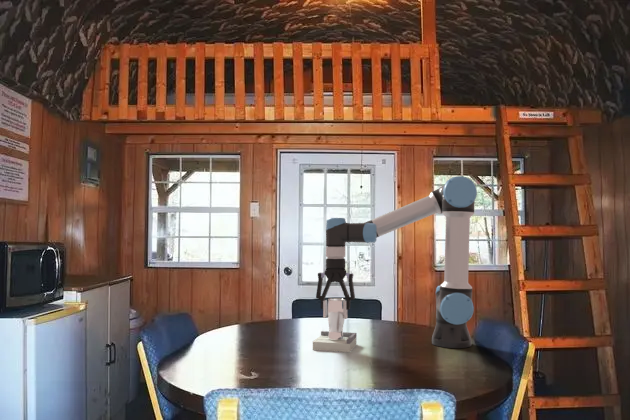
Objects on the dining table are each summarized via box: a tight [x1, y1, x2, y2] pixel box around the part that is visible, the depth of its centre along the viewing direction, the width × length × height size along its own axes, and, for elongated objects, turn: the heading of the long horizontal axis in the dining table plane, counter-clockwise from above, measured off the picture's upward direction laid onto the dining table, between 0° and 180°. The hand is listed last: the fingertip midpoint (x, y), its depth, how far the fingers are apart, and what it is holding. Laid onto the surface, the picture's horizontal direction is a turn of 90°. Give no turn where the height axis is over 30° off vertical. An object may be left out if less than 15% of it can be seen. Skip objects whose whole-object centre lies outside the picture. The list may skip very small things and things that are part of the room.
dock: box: [312, 330, 357, 353], centre depth 197 cm, size 14×14×4 cm
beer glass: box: [327, 297, 346, 340], centre depth 198 cm, size 7×7×15 cm
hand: (335, 317), depth 198 cm, fingers open, 7 cm apart
